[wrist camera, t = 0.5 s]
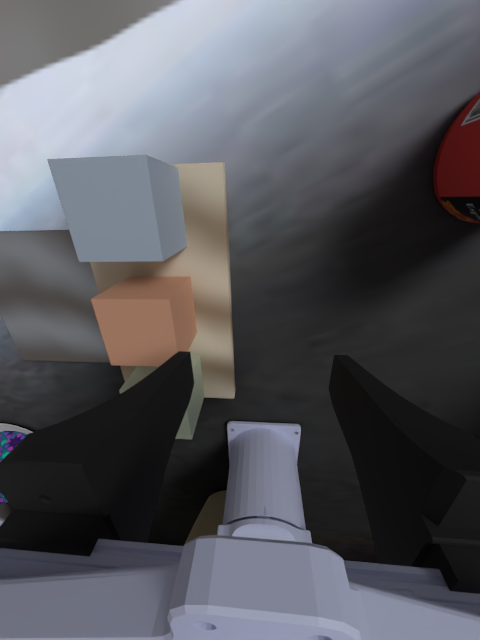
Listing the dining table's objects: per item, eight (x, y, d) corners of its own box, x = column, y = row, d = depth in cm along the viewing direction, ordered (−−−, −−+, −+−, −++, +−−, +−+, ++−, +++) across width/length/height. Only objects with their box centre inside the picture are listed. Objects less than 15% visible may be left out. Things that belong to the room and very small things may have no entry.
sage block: (204, 395, 25) (191, 439, 20) (156, 394, 25) (133, 436, 21) (199, 354, 22) (184, 392, 18) (146, 353, 23) (119, 390, 18)
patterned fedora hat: (-20, 404, 30) (-72, 442, 25) (76, 441, 32) (44, 483, 27) (-21, 458, 35) (-64, 498, 30) (62, 487, 37) (33, 529, 32)
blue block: (187, 246, 18) (163, 261, 14) (123, 247, 19) (79, 261, 14) (178, 167, 16) (146, 154, 12) (105, 170, 16) (47, 159, 12)
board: (235, 391, 25) (234, 398, 24) (46, 384, 27) (38, 391, 26) (225, 164, 17) (223, 162, 16) (-54, 175, 18) (-70, 174, 17)
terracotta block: (197, 332, 21) (180, 367, 17) (142, 331, 22) (111, 365, 17) (190, 276, 19) (169, 299, 15) (129, 276, 20) (90, 299, 15)
